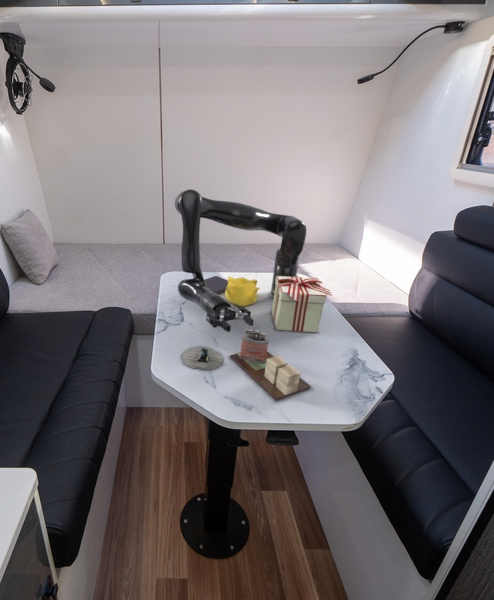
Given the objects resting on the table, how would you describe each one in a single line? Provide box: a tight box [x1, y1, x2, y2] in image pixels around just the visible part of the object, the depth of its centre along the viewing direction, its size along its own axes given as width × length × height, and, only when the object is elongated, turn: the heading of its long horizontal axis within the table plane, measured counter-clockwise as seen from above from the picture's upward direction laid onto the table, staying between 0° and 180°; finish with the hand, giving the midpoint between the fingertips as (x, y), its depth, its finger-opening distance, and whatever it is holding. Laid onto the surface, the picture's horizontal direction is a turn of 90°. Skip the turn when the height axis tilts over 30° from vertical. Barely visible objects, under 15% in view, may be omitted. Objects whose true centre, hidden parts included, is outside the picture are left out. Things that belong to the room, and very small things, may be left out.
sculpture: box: [182, 346, 224, 371], centre depth 115 cm, size 12×9×8 cm
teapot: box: [224, 276, 261, 307], centre depth 149 cm, size 14×13×10 cm
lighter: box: [240, 328, 270, 364], centre depth 111 cm, size 8×3×10 cm, turn 70°
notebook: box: [204, 275, 228, 295], centre depth 162 cm, size 13×2×21 cm
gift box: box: [271, 276, 333, 334], centre depth 132 cm, size 17×18×17 cm
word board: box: [229, 351, 312, 401], centre depth 108 cm, size 12×22×7 cm, turn 26°
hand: (241, 326), depth 116 cm, fingers open, 8 cm apart
